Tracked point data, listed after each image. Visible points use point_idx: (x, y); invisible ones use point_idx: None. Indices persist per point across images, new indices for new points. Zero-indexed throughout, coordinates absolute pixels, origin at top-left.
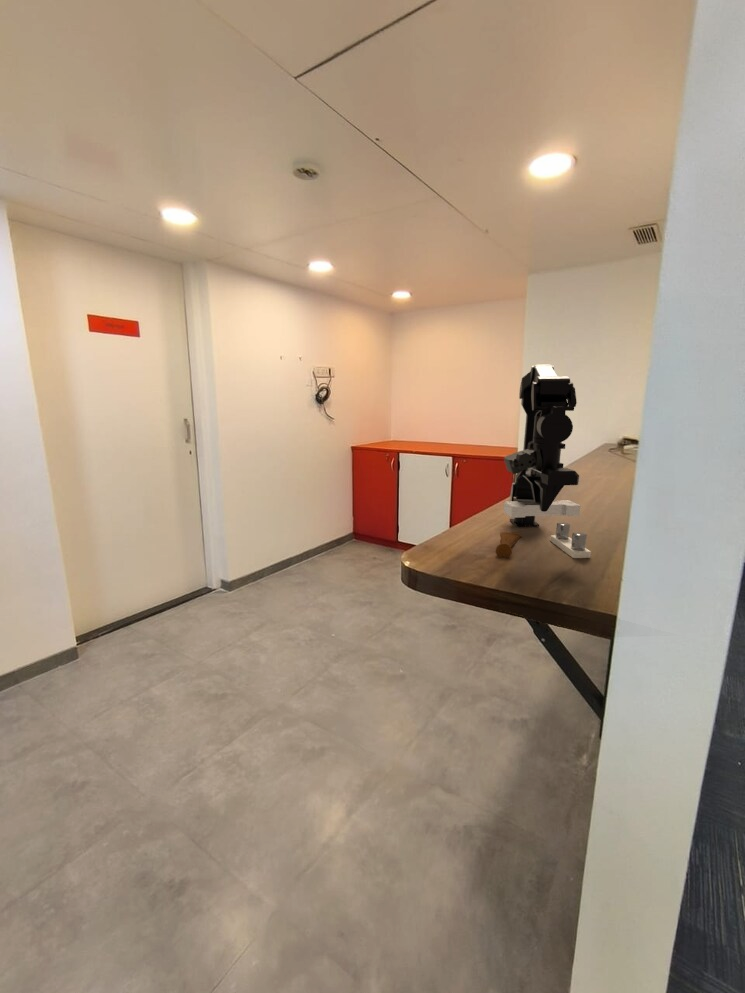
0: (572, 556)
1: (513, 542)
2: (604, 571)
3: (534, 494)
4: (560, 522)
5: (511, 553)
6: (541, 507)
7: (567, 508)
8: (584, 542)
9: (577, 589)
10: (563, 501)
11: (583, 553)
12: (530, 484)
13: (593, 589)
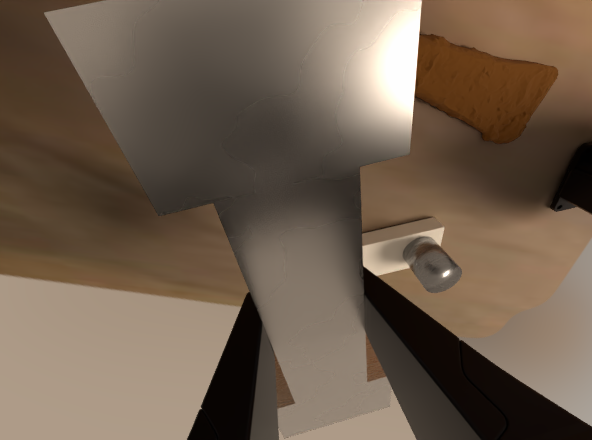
0: None
1: (418, 96)
2: (220, 291)
3: (404, 342)
4: (461, 274)
5: None
6: (251, 309)
7: None
8: None
9: (50, 222)
10: (367, 395)
11: None
12: (566, 416)
13: (76, 256)
